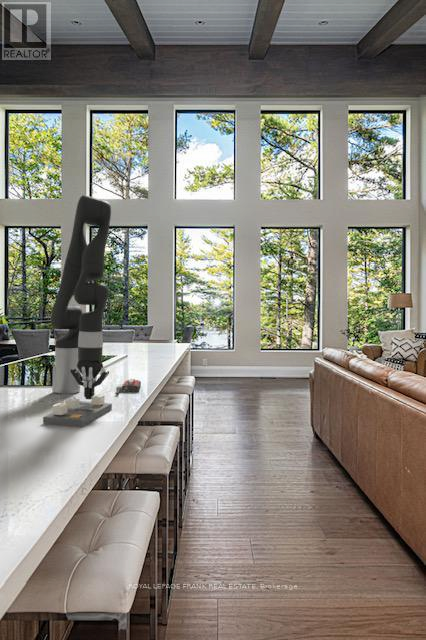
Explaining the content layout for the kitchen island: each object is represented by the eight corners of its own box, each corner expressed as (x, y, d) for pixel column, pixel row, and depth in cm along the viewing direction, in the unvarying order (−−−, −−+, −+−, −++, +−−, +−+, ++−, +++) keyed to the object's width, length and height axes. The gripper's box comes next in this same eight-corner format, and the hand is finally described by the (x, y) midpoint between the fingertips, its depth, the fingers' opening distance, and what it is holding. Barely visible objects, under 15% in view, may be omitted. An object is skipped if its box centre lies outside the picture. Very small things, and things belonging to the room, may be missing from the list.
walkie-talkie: (120, 386, 176) (113, 397, 156) (120, 376, 176) (113, 385, 156) (141, 386, 177) (137, 397, 157) (141, 376, 177) (137, 386, 157)
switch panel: (43, 423, 120) (43, 416, 120) (77, 407, 140) (77, 400, 140) (82, 427, 118) (82, 419, 118) (111, 409, 138) (111, 403, 138)
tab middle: (65, 408, 128) (65, 399, 128) (70, 406, 131) (70, 397, 131) (74, 409, 128) (74, 399, 127) (79, 406, 130) (79, 397, 130)
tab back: (91, 404, 134) (91, 395, 134) (95, 402, 137) (95, 393, 137) (100, 404, 133) (100, 396, 133) (104, 402, 136) (104, 394, 136)
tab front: (52, 414, 121) (52, 404, 121) (58, 411, 124) (58, 402, 124) (62, 415, 121) (62, 405, 121) (67, 412, 124) (67, 403, 123)
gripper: (65, 345, 132) (64, 399, 133) (104, 347, 130) (103, 403, 131) (77, 343, 140) (76, 394, 141) (114, 345, 137) (113, 397, 138)
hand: (89, 398), depth 136 cm, fingers closed
